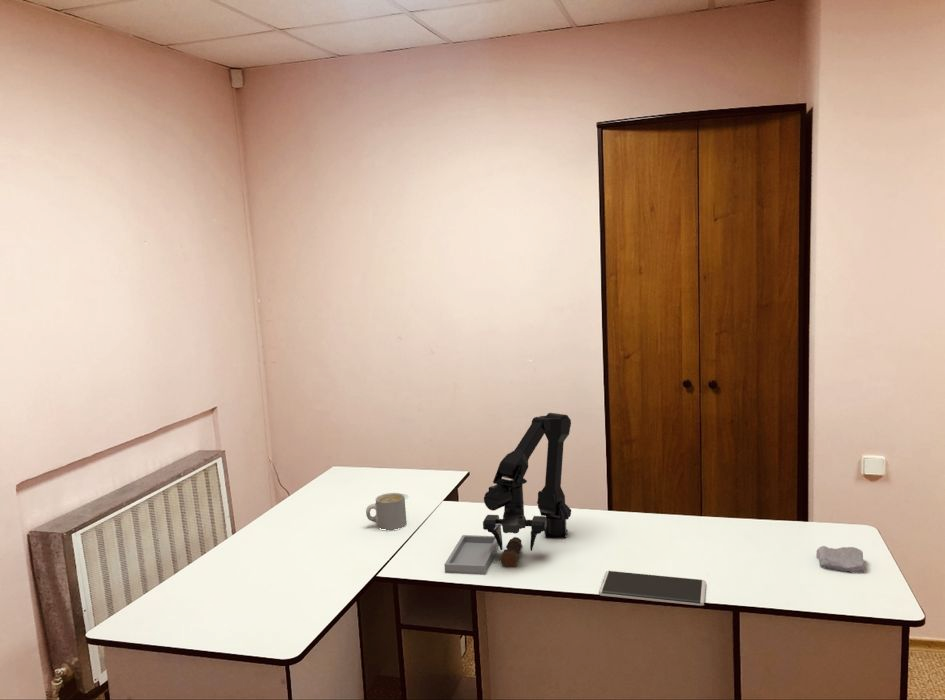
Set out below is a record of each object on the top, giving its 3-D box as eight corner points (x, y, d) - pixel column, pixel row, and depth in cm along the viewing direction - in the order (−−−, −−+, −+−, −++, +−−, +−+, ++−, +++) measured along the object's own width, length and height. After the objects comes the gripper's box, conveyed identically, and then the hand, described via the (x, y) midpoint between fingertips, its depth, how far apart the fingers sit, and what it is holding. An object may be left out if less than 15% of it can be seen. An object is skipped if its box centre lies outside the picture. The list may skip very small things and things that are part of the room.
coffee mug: (408, 519, 262) (406, 492, 260) (404, 530, 252) (402, 502, 250) (370, 520, 262) (368, 493, 261) (365, 531, 253) (362, 503, 251)
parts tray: (499, 543, 236) (499, 536, 235) (485, 574, 215) (484, 566, 214) (463, 542, 238) (462, 535, 238) (444, 572, 217) (444, 564, 217)
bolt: (519, 552, 233) (511, 572, 218) (505, 544, 233) (496, 563, 219) (527, 537, 232) (520, 556, 217) (513, 529, 232) (505, 547, 218)
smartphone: (704, 608, 189) (704, 602, 189) (598, 597, 198) (598, 591, 198) (706, 585, 201) (706, 579, 201) (606, 575, 210) (605, 569, 210)
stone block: (867, 580, 201) (861, 558, 210) (868, 565, 200) (861, 544, 209) (819, 578, 205) (815, 556, 214) (819, 563, 204) (815, 542, 213)
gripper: (477, 509, 217) (480, 559, 220) (540, 510, 213) (543, 562, 215) (485, 496, 228) (488, 544, 230) (546, 497, 224) (548, 547, 226)
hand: (516, 549), depth 225 cm, fingers open, 9 cm apart
